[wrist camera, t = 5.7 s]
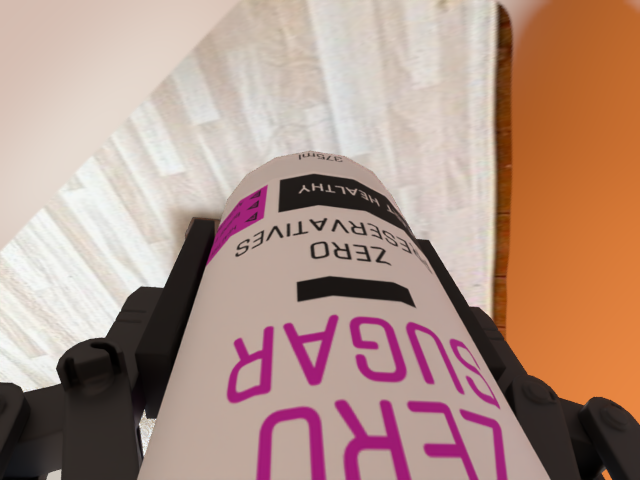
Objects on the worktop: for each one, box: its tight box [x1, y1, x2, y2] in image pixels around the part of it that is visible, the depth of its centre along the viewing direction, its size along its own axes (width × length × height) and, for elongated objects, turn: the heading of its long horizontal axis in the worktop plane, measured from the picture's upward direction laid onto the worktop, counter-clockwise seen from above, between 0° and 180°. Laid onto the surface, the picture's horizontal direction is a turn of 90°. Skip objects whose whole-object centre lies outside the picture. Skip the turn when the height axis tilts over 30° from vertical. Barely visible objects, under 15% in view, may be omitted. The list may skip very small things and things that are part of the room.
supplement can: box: [137, 151, 551, 480], centre depth 11 cm, size 8×8×15 cm
